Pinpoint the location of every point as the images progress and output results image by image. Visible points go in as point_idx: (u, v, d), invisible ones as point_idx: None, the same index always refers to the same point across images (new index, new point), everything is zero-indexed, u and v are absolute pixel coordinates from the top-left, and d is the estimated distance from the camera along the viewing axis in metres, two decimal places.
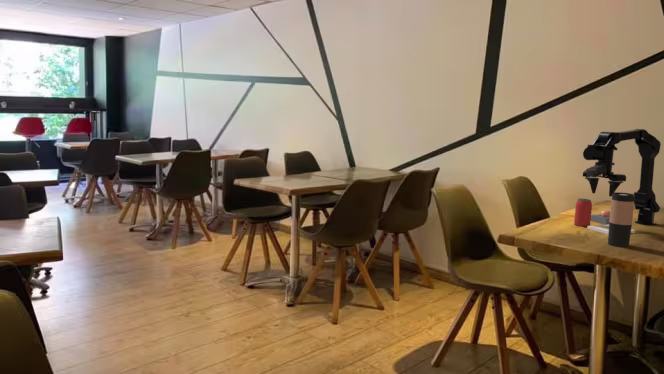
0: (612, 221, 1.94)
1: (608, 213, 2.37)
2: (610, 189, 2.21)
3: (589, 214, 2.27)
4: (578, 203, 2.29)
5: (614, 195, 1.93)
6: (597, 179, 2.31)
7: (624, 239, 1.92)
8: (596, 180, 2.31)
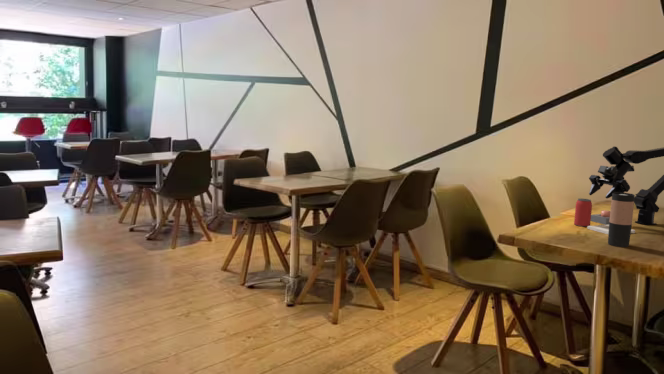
0: (612, 221, 1.94)
1: (608, 213, 2.37)
2: (610, 191, 2.27)
3: (589, 214, 2.27)
4: (578, 203, 2.29)
5: (614, 195, 1.93)
6: (599, 187, 2.38)
7: (624, 239, 1.92)
8: (598, 187, 2.37)
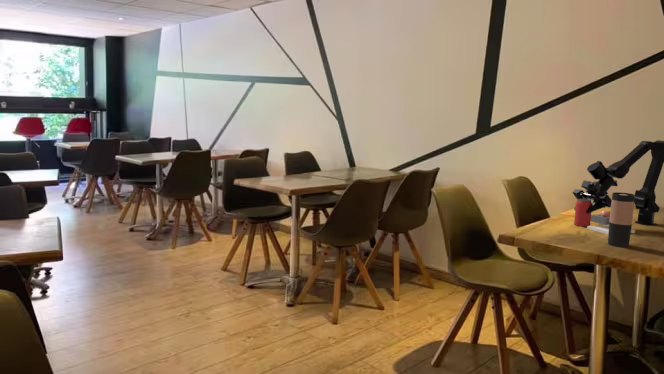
0: (612, 221, 1.94)
1: (608, 213, 2.37)
2: (591, 206, 2.26)
3: (589, 214, 2.27)
4: (578, 203, 2.29)
5: (614, 195, 1.93)
6: None
7: (624, 239, 1.92)
8: None
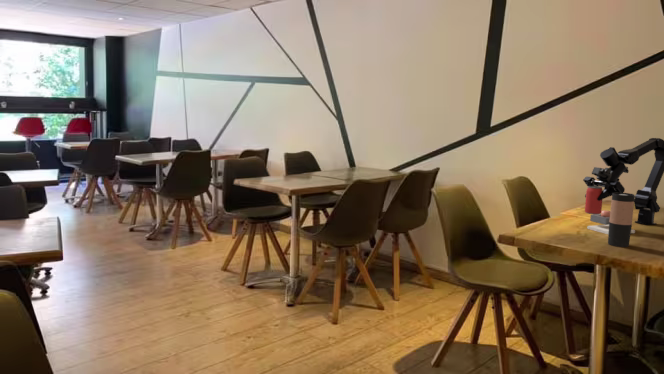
0: (612, 221, 1.94)
1: (608, 213, 2.37)
2: (602, 193, 2.21)
3: (600, 201, 2.23)
4: (589, 190, 2.24)
5: (614, 195, 1.93)
6: None
7: (624, 239, 1.92)
8: None
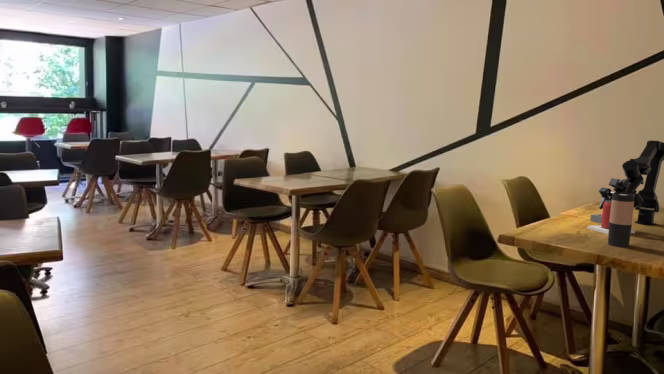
0: (612, 221, 1.94)
1: None
2: None
3: None
4: (606, 205, 2.18)
5: (614, 195, 1.93)
6: None
7: (624, 239, 1.92)
8: None
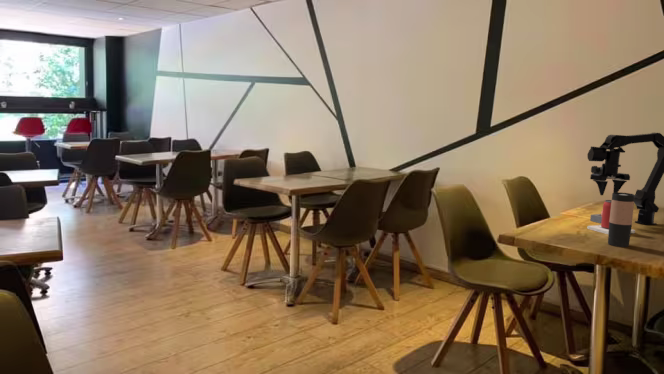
0: (612, 221, 1.94)
1: None
2: None
3: None
4: (606, 205, 2.18)
5: (614, 195, 1.93)
6: (620, 182, 2.36)
7: (624, 239, 1.92)
8: (619, 182, 2.36)
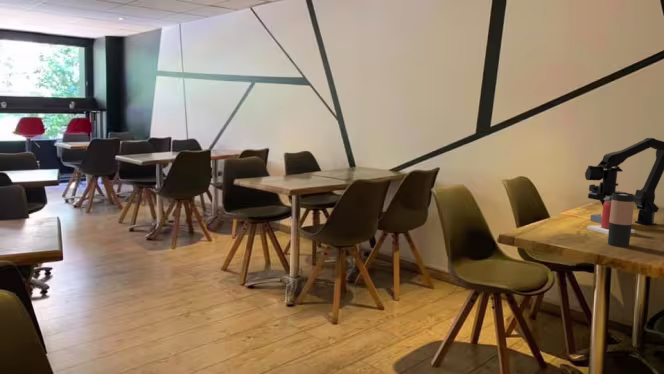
0: (612, 221, 1.94)
1: None
2: None
3: None
4: (606, 205, 2.18)
5: (614, 195, 1.93)
6: None
7: (624, 239, 1.92)
8: None
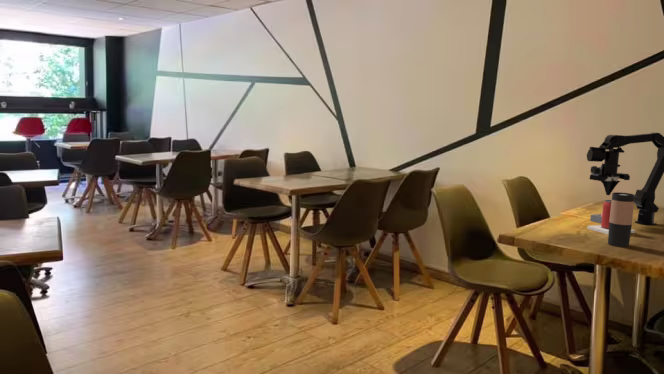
0: (612, 221, 1.94)
1: None
2: None
3: None
4: (606, 205, 2.18)
5: (614, 195, 1.93)
6: (613, 182, 2.35)
7: (624, 239, 1.92)
8: None
